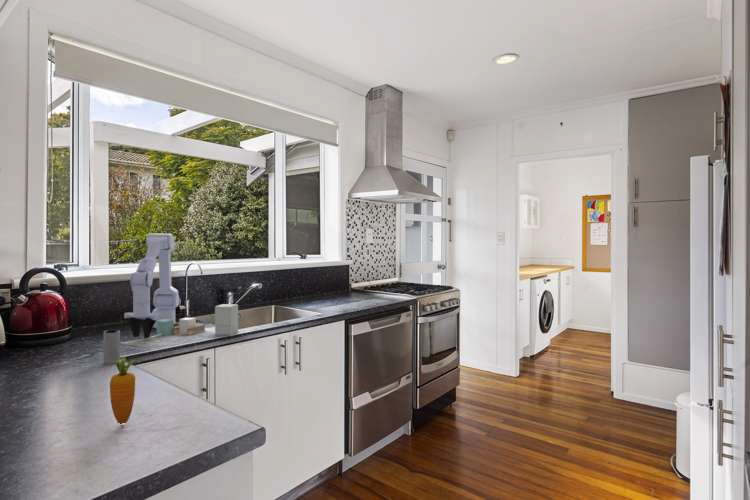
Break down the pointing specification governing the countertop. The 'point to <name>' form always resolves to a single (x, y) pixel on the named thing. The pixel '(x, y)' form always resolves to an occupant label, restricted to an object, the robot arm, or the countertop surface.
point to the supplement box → (226, 319)
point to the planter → (111, 346)
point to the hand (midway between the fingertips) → (141, 337)
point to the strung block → (163, 328)
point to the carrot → (122, 391)
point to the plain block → (186, 324)
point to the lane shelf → (189, 329)
